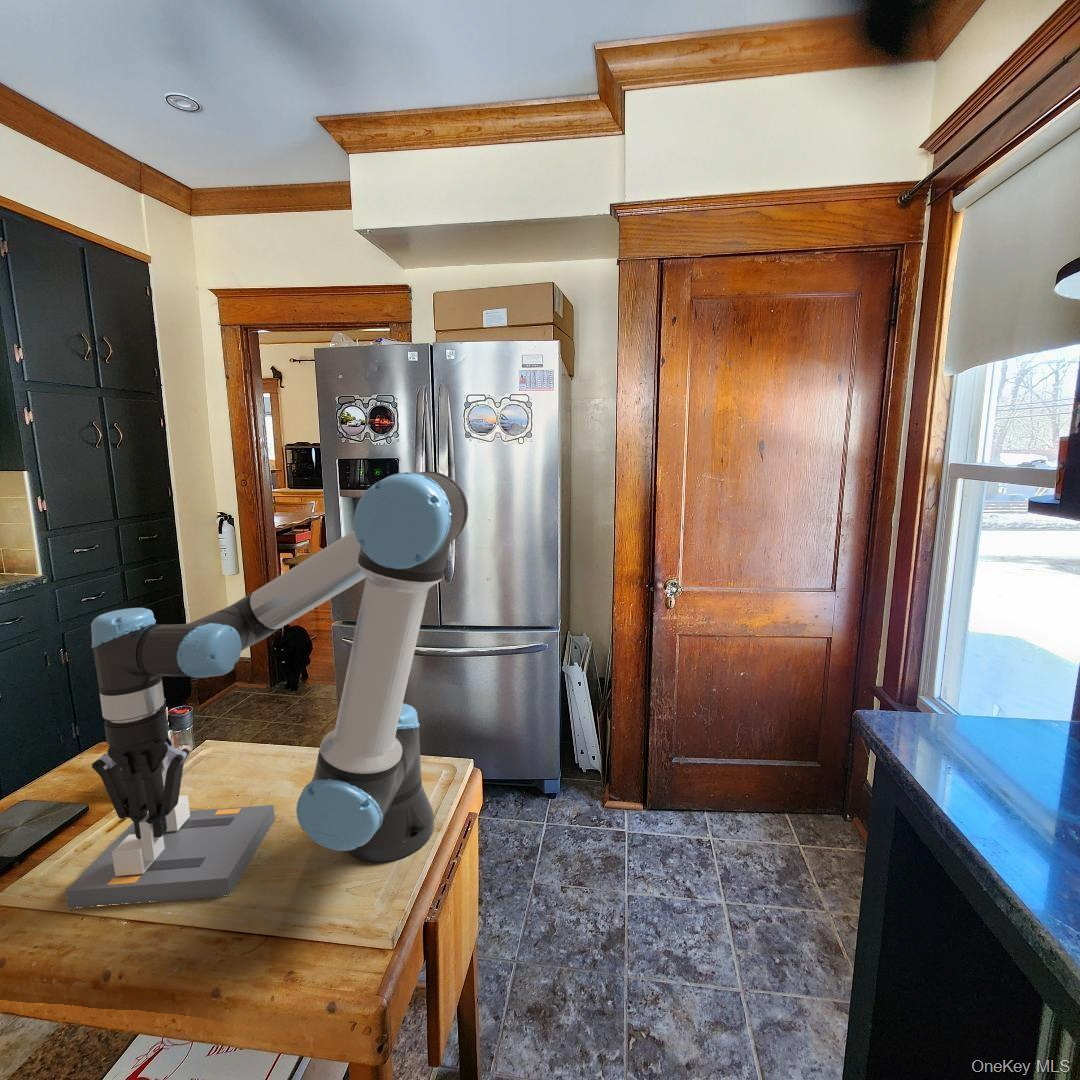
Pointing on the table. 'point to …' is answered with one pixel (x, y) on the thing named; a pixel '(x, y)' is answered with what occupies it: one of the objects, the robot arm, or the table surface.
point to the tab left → (129, 857)
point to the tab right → (178, 814)
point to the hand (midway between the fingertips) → (154, 854)
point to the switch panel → (181, 861)
